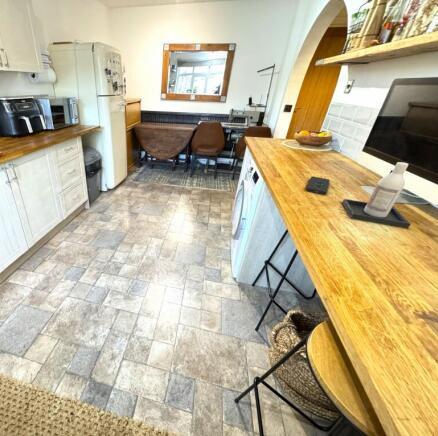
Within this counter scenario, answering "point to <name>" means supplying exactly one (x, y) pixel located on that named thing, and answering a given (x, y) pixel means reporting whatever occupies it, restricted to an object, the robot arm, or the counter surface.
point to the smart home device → (318, 185)
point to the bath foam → (386, 192)
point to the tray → (357, 212)
